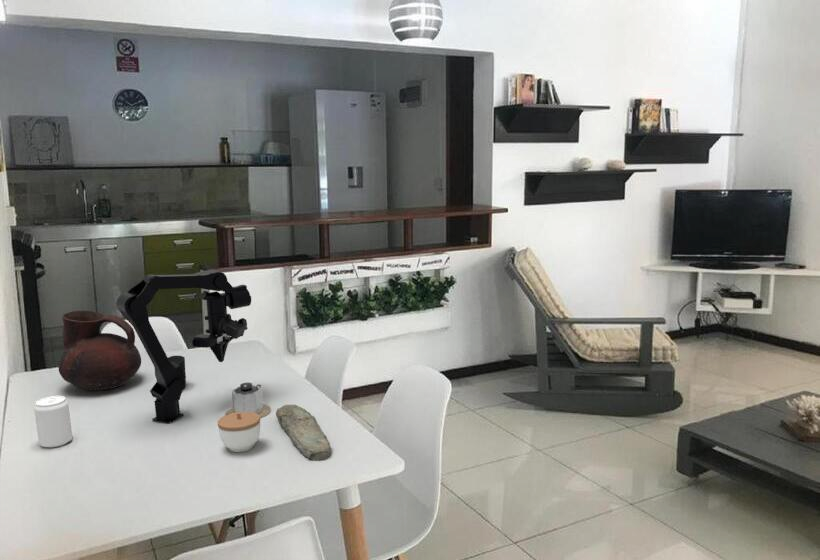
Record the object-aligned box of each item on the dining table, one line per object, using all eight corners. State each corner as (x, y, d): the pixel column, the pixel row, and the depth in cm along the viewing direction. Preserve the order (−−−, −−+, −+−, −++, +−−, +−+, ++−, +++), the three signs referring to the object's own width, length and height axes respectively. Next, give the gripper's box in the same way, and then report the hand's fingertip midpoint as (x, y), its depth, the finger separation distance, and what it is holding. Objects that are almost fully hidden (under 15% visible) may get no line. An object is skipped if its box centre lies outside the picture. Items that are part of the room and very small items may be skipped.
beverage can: (35, 450, 180) (29, 407, 177) (43, 438, 187) (37, 397, 185) (69, 446, 182) (64, 403, 179) (75, 434, 189) (70, 393, 187)
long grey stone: (301, 470, 168) (340, 464, 172) (301, 450, 167) (340, 444, 171) (269, 414, 199) (302, 410, 203) (269, 397, 198) (302, 393, 202)
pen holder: (162, 384, 228) (159, 356, 227) (190, 383, 229) (188, 355, 227) (153, 394, 219) (150, 364, 217) (182, 393, 220) (179, 363, 218)
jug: (117, 400, 215) (108, 323, 210) (44, 397, 219) (34, 322, 214) (157, 374, 239) (150, 304, 235) (92, 372, 243) (83, 304, 239)
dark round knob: (250, 406, 198) (248, 388, 197) (234, 404, 200) (232, 386, 199) (260, 400, 203) (259, 382, 202) (245, 398, 205) (243, 380, 204)
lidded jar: (218, 442, 182) (215, 409, 180) (258, 435, 185) (256, 403, 184) (222, 459, 172) (219, 424, 170) (265, 451, 176) (262, 417, 174)
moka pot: (254, 423, 194) (252, 399, 192) (216, 418, 198) (214, 395, 197) (279, 406, 206) (277, 384, 204) (242, 402, 210) (240, 380, 209)
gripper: (220, 321, 194) (224, 373, 197) (257, 306, 211) (260, 355, 214) (188, 318, 198) (193, 370, 201) (227, 304, 215) (230, 352, 218)
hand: (221, 361), depth 208 cm, fingers closed
